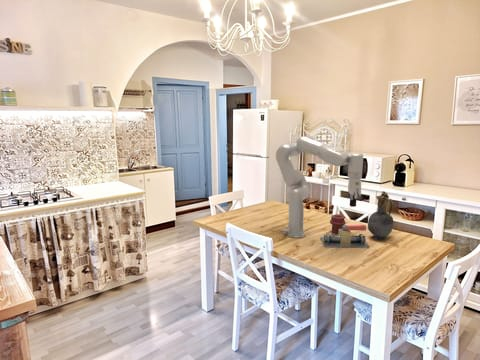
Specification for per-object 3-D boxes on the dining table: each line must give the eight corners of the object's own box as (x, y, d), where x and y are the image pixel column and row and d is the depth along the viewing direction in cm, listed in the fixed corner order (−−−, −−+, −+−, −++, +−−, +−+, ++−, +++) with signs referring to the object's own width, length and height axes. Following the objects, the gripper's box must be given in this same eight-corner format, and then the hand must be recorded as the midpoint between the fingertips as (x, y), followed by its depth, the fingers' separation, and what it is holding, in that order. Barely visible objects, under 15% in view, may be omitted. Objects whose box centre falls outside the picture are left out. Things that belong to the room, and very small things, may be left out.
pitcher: (364, 237, 204) (367, 192, 199) (381, 231, 215) (385, 188, 209) (380, 243, 195) (384, 195, 190) (397, 236, 206) (401, 191, 200)
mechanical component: (344, 230, 217) (345, 235, 208) (328, 229, 219) (329, 234, 210) (345, 213, 215) (346, 217, 205) (329, 212, 217) (330, 216, 207)
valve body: (324, 247, 190) (325, 234, 188) (320, 238, 204) (320, 226, 202) (369, 248, 188) (370, 235, 187) (362, 239, 202) (363, 227, 200)
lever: (343, 231, 193) (343, 226, 192) (341, 229, 196) (341, 225, 195) (366, 230, 194) (366, 226, 193) (363, 228, 196) (364, 224, 196)
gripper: (365, 177, 174) (363, 210, 178) (357, 172, 189) (355, 202, 192) (351, 177, 174) (349, 209, 178) (344, 172, 189) (342, 202, 193)
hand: (352, 206), depth 185 cm, fingers closed
